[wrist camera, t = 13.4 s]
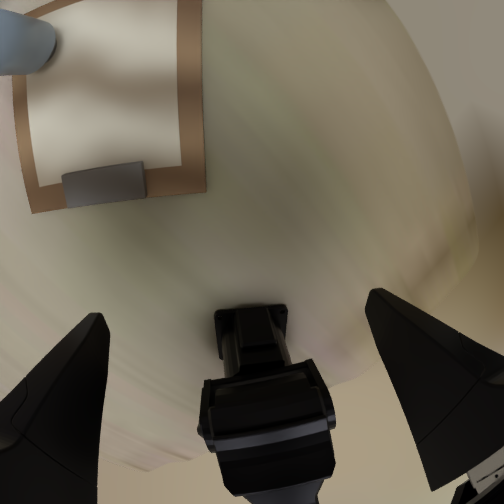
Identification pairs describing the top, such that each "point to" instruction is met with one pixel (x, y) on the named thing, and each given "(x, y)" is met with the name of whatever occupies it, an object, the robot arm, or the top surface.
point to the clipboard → (113, 104)
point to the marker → (24, 43)
